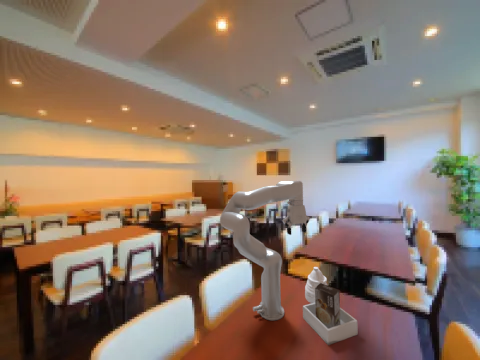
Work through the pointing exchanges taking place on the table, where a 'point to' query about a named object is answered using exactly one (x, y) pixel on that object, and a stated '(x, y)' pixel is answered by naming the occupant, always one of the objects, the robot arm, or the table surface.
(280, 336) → the table surface
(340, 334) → the bin
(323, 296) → the coffee box
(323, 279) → the honey pot
